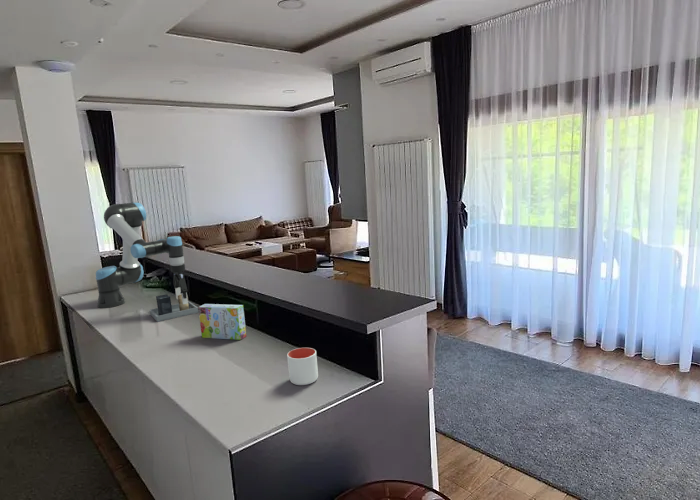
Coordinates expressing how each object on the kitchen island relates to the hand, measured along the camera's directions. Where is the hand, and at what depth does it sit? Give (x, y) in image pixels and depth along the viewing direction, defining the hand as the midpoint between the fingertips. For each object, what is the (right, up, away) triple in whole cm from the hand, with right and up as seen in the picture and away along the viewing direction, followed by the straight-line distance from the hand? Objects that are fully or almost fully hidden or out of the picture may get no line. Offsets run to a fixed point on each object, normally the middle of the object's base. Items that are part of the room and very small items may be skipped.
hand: (182, 301), depth 251 cm
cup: (+78, -17, -95) cm, 124 cm away
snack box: (+37, -11, -46) cm, 60 cm away
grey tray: (-3, -7, -2) cm, 8 cm away
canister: (+1, -5, 0) cm, 5 cm away
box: (-7, -7, -5) cm, 11 cm away
